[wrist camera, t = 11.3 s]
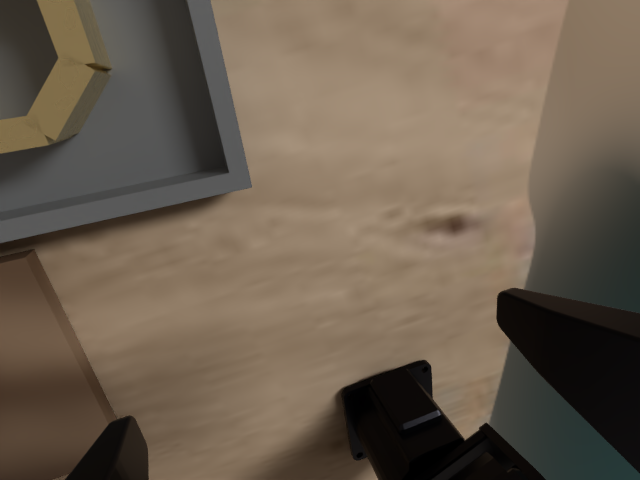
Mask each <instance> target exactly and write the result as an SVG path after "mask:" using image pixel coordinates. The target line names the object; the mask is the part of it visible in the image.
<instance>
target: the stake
mask: <svg viewBox="0 0 640 480" xmlns="http://www.w3.org/2000/svg"><path fill="white" fill-rule="evenodd" d="M114 420H117V419H116V417H115V415H114V413H113V411H112V408H111V406H110V404H109V402H108V400H107V398H106V396H105V394H104V392H103V390H102V388H101V386H100V384H99V382H98V380H97V378H96V376H95V374H94V372H93V369H92V367H91V365H90V363H89V361H88V359H87V357H86V355H85V353H84V351H83V349H82V347H81V345H80V343H79V341H78V339H77V337H76V335H75V332H74V330H73V328H72V326H71V324H70V322H69V320H68V318H67V316H66V314H65V312H64V310H63V308H62V306H61V304H60V302H59V300H58V298H57V295H56V293H55V291H54V289H53V287H52V285H51V283H50V281H49V279H48V277H47V275H46V273H45V271H44V269H43V267H42V265H41V263H40V261H39V259H38V256H37V254H36V252H35V250H34V249H33V250H28V251H24V252H19V253H15V254H11V255H6V256H2V257H0V480H52V479H55V478H58V477H60V476H63V475H66V474H69V473H71V471H72V470H73V469H74V468H75V466H76V465H77V464H78V462H79V461H80V460H81V459H82V457H83V456H84V455H85V453H86V452H87V451H88V450H89V448H90V447H91V446H92V445H93V443H94V442H95V441H96V439H97V438H98V437H99V436H100V434H101V433H102V432H103V430H104V429H105V428H106V427H107V425H108V424H109V423H110V422H112V421H114Z"/></svg>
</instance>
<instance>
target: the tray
mask: <svg viewBox="0 0 640 480" xmlns="http://www.w3.org/2000/svg"><path fill="white" fill-rule="evenodd" d="M90 3H91V6H92V9H93V12H94V15H95V18H96V21H97V24H98V27H99V30H100V33H101V36H102V39H103V42H104V45H105V48H106V51H107V54H108V57H109V60H110V63H111V66H112V69H106V70H104V71H106V72H107V73H109V74H110V75H112V76H111V78H110V79H109V81H108V83H107V85H106V86H105V88H104V90H103V92H102V93H101V95H100V97H99V99H98V100H97V102H96V104H95V106H94V107H93V109H92V111H91V113H90V114H89V116H88V118H87V120H86V121H85V123H84V125H83V127H82V128H81V130H80V132H79V133H78V134H75V135H73V137H71V138H68V139H65V140H62V141H59V142H56V143H54V144H51V145H47V146H41V147H35V148H30V149H24V150H18V151H12V152H7V153H1V154H0V243H3V242H7V241H12V240H16V239H21V238H25V237H30V236H35V235H39V234H44V233H48V232H53V231H57V230H62V229H66V228H71V227H75V226H80V225H84V224H89V223H93V222H98V221H102V220H107V219H111V218H116V217H120V216H125V215H129V214H134V213H138V212H143V211H147V210H152V209H156V208H161V207H165V206H170V205H174V204H179V203H183V202H188V201H193V200H197V199H202V198H206V197H211V196H215V195H220V194H224V193H229V192H233V191H238V190H242V189H247V188H251V187H252V184H251V180H250V175H249V171H248V166H247V162H246V157H245V153H244V148H243V144H242V140H241V135H240V131H239V126H238V122H237V117H236V113H235V108H234V104H233V99H232V95H231V90H230V86H229V82H228V77H227V73H226V68H225V64H224V59H223V55H222V50H221V46H220V41H219V37H218V32H217V28H216V24H215V19H214V15H213V10H212V6H211V1H210V0H90ZM57 60H58V55H57V52H56V50H55V47H54V45H53V42H52V39H51V37H50V34H49V31H48V29H47V26H46V23H45V21H44V18H43V15H42V13H41V10H40V8H39V5H38V2H37V0H0V120H3V119H9V118H16V117H22V116H27V114H28V112H29V110H30V109H31V107H32V105H33V103H34V101H35V100H36V98H37V96H38V94H39V92H40V91H41V89H42V87H43V85H44V83H45V81H46V80H47V78H48V76H49V74H50V72H51V71H52V69H53V67H54V65H55V63H56V61H57Z"/></svg>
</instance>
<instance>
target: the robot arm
mask: <svg viewBox="0 0 640 480" xmlns="http://www.w3.org/2000/svg"><path fill="white" fill-rule="evenodd" d="M496 318H497V323H498V325H499V327H500V328H501V330H502V331H503V332H504V333H505V334H506V335H507V337H508V338H509V339H510V340H511V341H512V343H513V344H514V345H515V346H516V347H517V349H519V351H520V352H521V353H522V354H523V356H524V357H525V358H526V359H527V360H528V361H529V363H531V365H532V366H533V367H534V368H535V369H536V371H537V372H538V373H539V374H540V375H541V376H542V377H543V378H544V379H545V380H546V381H547V382H548V383H549V384H550V385H551V386H552V387H553V388H554V389H555V390H556V391H557V392H558V393H559V394H560V395H561V396H562V397H563V398H564V399H565V400H566V401H567V402H568V403H569V404H570V405H571V406H572V407H573V408H574V409H575V410H576V411H577V412H578V413H579V414H580V415H581V416H582V417H583V418H584V419H585V420H586V421H587V422H588V423H589V424H590V425H591V426H592V427H593V428H594V429H595V430H596V431H597V432H598V433H599V434H600V435H601V436H602V437H603V438H604V439H605V440H606V441H607V442H608V443H610V444H611V445H612V446H613V447H614V448H615V449H616V450H617V451H618V452H619V453H620V454H621V455H622V456H623V457H624V458H625V459H626V460H627V461H628V462H629V463H630V464H631V465H632V466H633V467H634V468H635V469H636V470H637V471H638V472H639V473H640V313H636V312H631V311H626V310H621V309H617V308H612V307H607V306H602V305H597V304H592V303H587V302H582V301H577V300H572V299H567V298H562V297H557V296H552V295H547V294H543V293H537V292H532V291H528V290H523V289H518V288H510V289H507V290H504V291H501V292H500V293H499V294H498V297H497V317H496ZM350 394H351V395H350ZM348 395H349V396H348ZM342 401H343V407H344V413H345V419H346V425H347V431H348V437H349V443H350V449H351V454H352V456H353V458H354V460H361V459H364V458H366V457H368V459H369V461H370V463H371V465H372V467H373V470H374V472H375V474H376V476H377V478H378V480H546V479H545V478H544V477H543V476H542V475H541V474H540V473H539V472H538V471H537V470H536V469H535V468H534V467H533V466H532V465H531V464H530V463H529V462H528V461H527V460H525V459H524V458H523V457H522V456H521V455H520V454H519V453H518V452H517V451H516V450H515V449H514V448H513V447H512V446H511V445H509V443H508V442H506V441H505V440H504V439H503V438H502V437H501V436H500V435H499V434H498V433H497V432H496V431H495V430H494V429H493V428H492V427H490V425H489V424H487V423H485V424H483V425H482V426H481V427H479V430H478V431H477V432H476V433H474V434H473V435H472V436H470V437H469V438H468V439H466V440H465V439H464V438H463V436H462V435H461V434H460V433H459V431H458V430H457V429H456V428H455V426H454V425H453V424H452V423H451V421H450V420H449V419H448V418H447V416H446V415H445V414H444V413H443V411H442V410H441V409H440V408H439V406H438V405H437V404H436V403H435V401H434V400H433V396H432V373H431V365H430V364H429V363H428V362H427V361H426V360H421V361H419V362H416V363H413V364H410V365H407V366H405V367H402V368H399V369H396V370H394V371H391V372H388V373H385V374H383V375H380V376H377V377H374V378H371V379H369V380H366V381H363V382H360V383H358V384H355V385H352V386H349V387H347V388H345V389H344V390H343V391H342ZM65 480H149V478H148V448H147V444H146V441H145V439H144V437H143V435H142V433H141V430H140V428H139V426H138V424H137V422H136V420H135V418H134V417H133V416H130V415H129V416H126V417H123V418H120V419H117V420H114V421H112V422H110V423H109V424H108V425H107V427H106V428H105V429H104V430H103V432H102V433H101V434H100V436H99V437H98V438H97V439H96V441H95V442H94V443H93V445H92V446H91V447H90V448H89V450H88V451H87V452H86V453H85V455H84V456H83V457H82V459H81V460H80V461H79V462H78V464H77V465H76V466H75V468H74V469H73V470H72V471H71V473H70V474H69V475H68V477H67V478H66V479H65Z"/></svg>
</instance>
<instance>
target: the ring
mask: <svg viewBox="0 0 640 480" xmlns="http://www.w3.org/2000/svg"><path fill="white" fill-rule="evenodd" d="M37 2H38V5H39V8H40V10H41V13H42V15H43V18H44V21H45V23H46V26H47V29H48V31H49V34H50V37H51V39H52V42H53V45H54V47H55V50H56V52H57V55H58V60H57V61H56V63H55V65H54V67H53V69H52V71H51V72H50V74H49V76H48V78H47V80H46V81H45V83H44V85H43V87H42V89H41V91H40V92H39V94H38V96H37V98H36V100H35V101H34V103H33V105H32V107H31V109H30V110H29V112H28V114H27V116H22V117H16V118H9V119H3V120H0V154H1V153H7V152H12V151H18V150H24V149H30V148H35V147H41V146H47V145H51V144H54V143H56V142H59V141H62V140H65V139H68V138H71V137H73V135H75V134H78V133H79V132H80V130H81V128H82V127H83V125H84V123H85V121H86V120H87V118H88V116H89V114H90V113H91V111H92V109H93V107H94V106H95V104H96V102H97V100H98V99H99V97H100V95H101V93H102V92H103V90H104V88H105V86H106V85H107V83H108V81H109V79H110V78H111V76H112V75H110V74H109V73H107V72H106V71H104V70H106V69H112V66H111V63H110V60H109V57H108V54H107V51H106V48H105V45H104V42H103V39H102V36H101V33H100V30H99V27H98V24H97V21H96V18H95V15H94V12H93V9H92V6H91V3H90V0H37Z"/></svg>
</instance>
